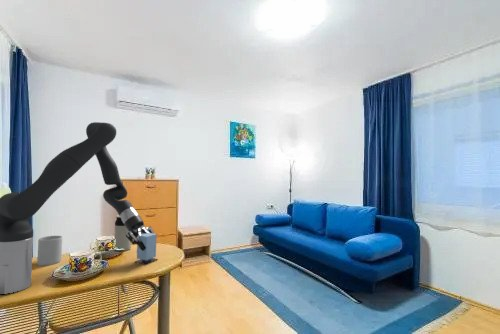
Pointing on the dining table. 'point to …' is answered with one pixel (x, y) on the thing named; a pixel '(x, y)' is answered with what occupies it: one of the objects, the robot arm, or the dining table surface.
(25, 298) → the dining table surface
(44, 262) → the mug
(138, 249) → the blue rectangular block
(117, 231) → the travel mug
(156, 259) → the post
